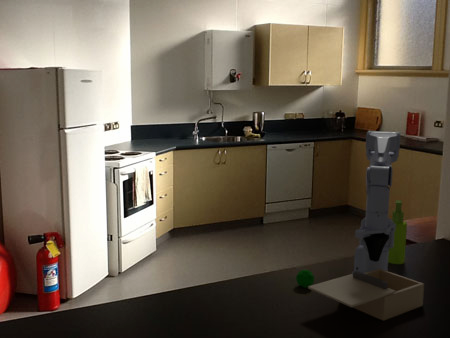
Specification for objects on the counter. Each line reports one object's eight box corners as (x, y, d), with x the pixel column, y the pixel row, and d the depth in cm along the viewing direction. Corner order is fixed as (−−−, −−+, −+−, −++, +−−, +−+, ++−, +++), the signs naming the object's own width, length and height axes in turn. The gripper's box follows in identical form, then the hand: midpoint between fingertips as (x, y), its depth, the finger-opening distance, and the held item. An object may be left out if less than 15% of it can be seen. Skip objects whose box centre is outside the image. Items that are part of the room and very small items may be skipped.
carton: (339, 301, 141) (340, 279, 140) (378, 289, 150) (379, 268, 149) (383, 320, 130) (384, 297, 129) (422, 305, 139) (424, 283, 138)
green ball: (316, 289, 149) (316, 273, 148) (299, 290, 148) (299, 273, 148) (310, 283, 154) (311, 267, 153) (294, 283, 153) (294, 268, 153)
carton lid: (307, 288, 133) (308, 280, 133) (351, 275, 142) (351, 268, 142) (351, 307, 122) (352, 298, 121) (395, 292, 131) (395, 284, 131)
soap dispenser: (404, 258, 177) (408, 199, 174) (404, 265, 171) (408, 204, 168) (386, 256, 179) (389, 198, 176) (385, 262, 173) (388, 202, 170)
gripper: (372, 217, 133) (369, 269, 135) (406, 210, 142) (403, 259, 144) (349, 212, 139) (347, 262, 141) (384, 205, 147) (381, 252, 149)
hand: (374, 260), depth 143 cm, fingers closed
